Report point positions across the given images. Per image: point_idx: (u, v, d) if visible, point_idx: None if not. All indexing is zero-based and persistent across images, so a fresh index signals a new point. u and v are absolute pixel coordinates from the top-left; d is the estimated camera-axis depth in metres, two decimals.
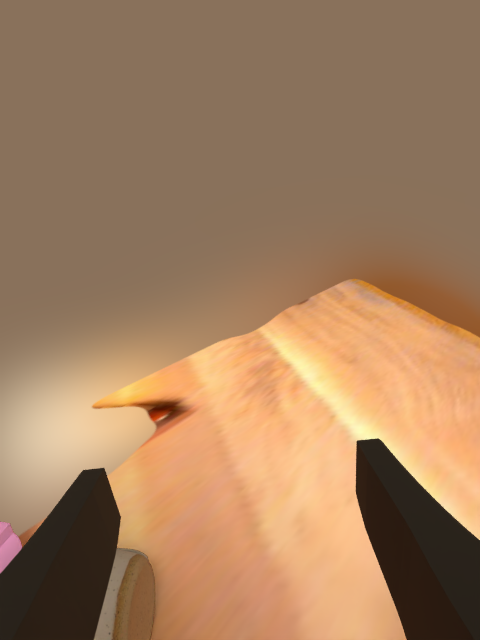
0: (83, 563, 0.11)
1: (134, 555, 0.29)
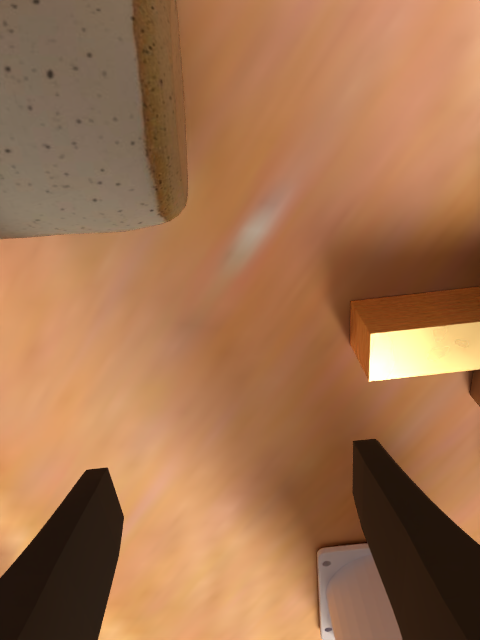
0: (87, 562, 0.11)
1: None
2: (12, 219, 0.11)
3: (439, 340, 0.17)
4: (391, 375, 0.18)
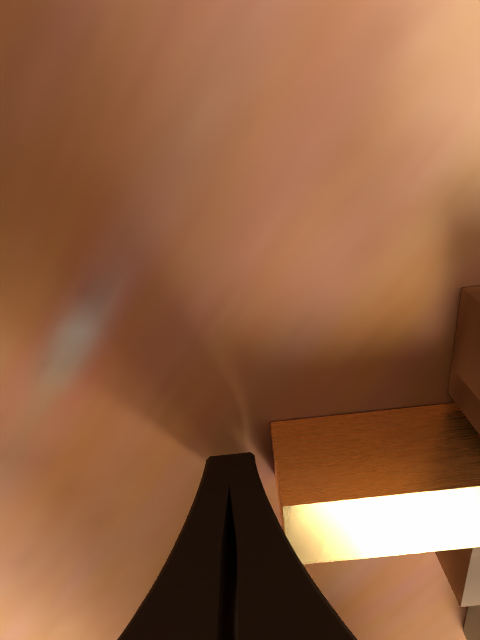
0: (231, 548, 0.11)
1: None
2: None
3: (395, 513, 0.11)
4: (322, 557, 0.11)
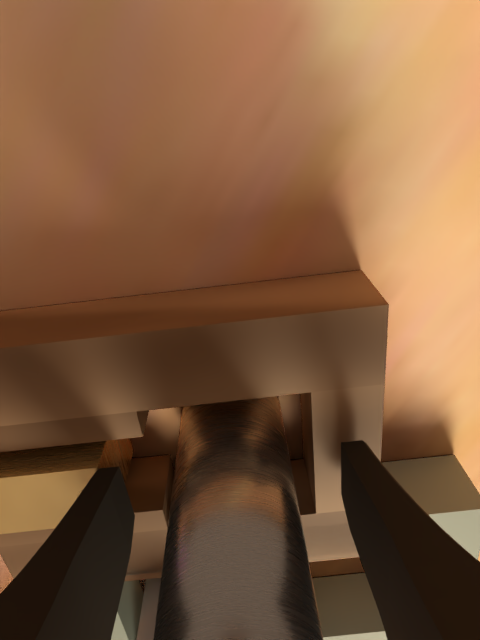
0: (101, 561, 0.11)
1: None
2: None
3: None
4: None
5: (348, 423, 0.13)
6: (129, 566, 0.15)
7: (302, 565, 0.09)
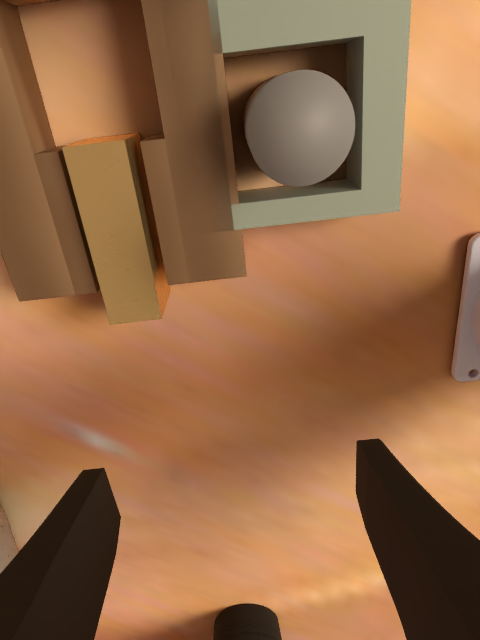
0: (83, 563, 0.11)
1: None
2: None
3: (109, 262, 0.17)
4: (153, 299, 0.18)
5: None
6: (215, 179, 0.17)
7: None
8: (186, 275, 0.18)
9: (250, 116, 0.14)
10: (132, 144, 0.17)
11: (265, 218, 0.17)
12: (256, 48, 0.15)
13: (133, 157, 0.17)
